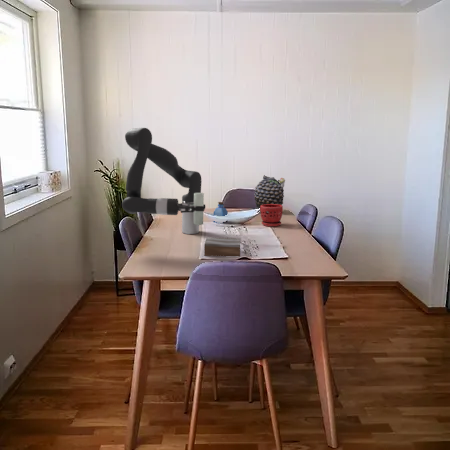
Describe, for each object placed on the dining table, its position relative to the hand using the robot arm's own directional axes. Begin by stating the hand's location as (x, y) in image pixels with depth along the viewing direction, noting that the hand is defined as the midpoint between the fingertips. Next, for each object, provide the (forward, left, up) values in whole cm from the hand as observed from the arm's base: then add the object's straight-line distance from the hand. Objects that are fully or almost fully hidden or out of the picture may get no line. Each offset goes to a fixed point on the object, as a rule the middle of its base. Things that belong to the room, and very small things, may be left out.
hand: (204, 207), depth 214 cm
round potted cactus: (-104, +36, -21) cm, 112 cm away
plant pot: (-64, +35, -21) cm, 76 cm away
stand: (0, +9, -21) cm, 23 cm away
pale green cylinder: (0, -3, -7) cm, 8 cm away
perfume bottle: (-69, +5, -21) cm, 72 cm away
